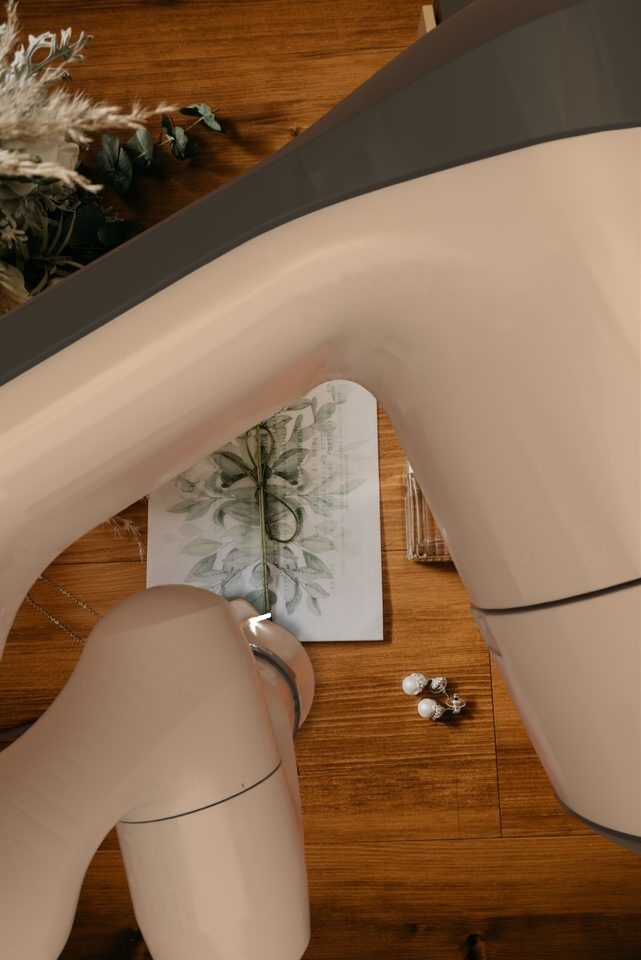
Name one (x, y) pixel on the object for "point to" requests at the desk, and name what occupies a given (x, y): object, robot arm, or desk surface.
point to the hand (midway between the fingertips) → (631, 495)
